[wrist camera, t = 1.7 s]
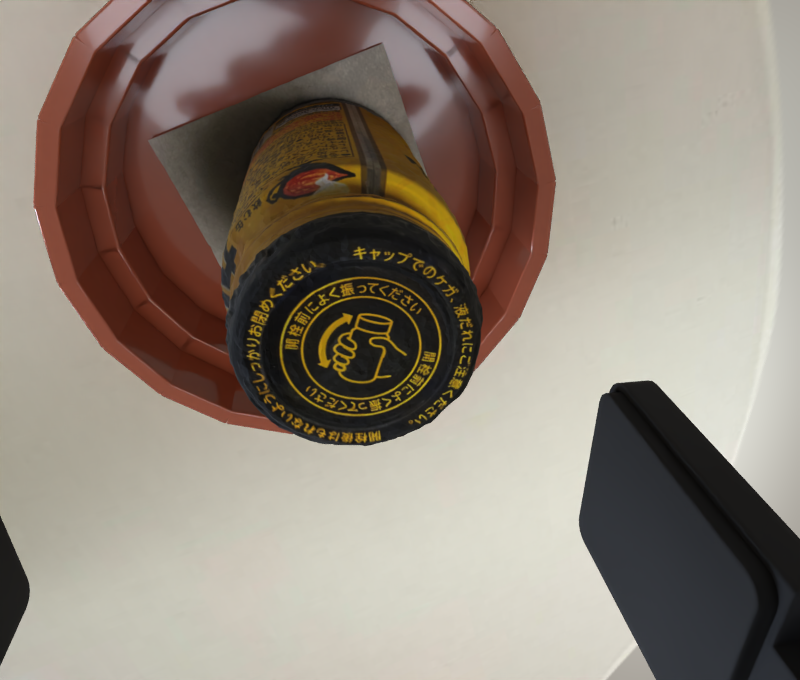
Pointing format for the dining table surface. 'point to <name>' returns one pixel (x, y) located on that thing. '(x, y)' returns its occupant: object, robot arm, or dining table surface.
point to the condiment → (331, 254)
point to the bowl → (231, 84)
